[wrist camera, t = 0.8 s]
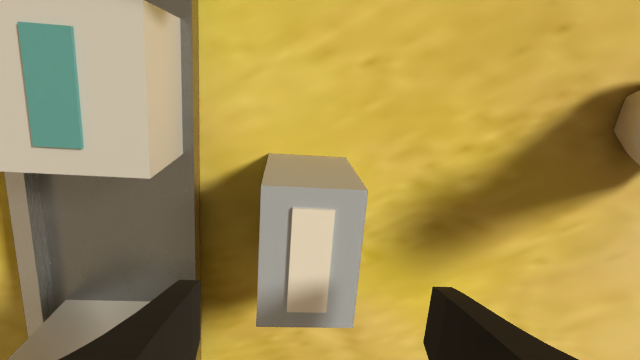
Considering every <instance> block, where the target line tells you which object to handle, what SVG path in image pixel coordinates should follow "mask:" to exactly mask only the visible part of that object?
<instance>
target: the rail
mask: <svg viewBox="0 0 640 360" xmlns="http://www.w3.org/2000/svg"><path fill="white" fill-rule="evenodd" d="M145 1H147V2H149V3H151V4H153V5H155V6H157V7H159V8H161V9H163V10H165V11H167V12H169V13H171V14H173V15H174V16H176V17H178V18H180V33H181V83H182V133H183V154H182V155H181V156H179V157H178V158H177V159H175V160H174V161H173V162H172V163H170V164H169V165H168V166H166V167H165V168H164V169H162V170H161V171H160V172H158V173H157V174H156V175H154V176H153V177H152V178H150V179H146V178H125V177H104V176H84V175H63V174H42V173H22V172H4V175H5V182H6V189H7V196H8V203H9V210H10V216H11V223H12V230H13V237H14V244H15V251H16V258H17V265H18V272H19V279H20V285H21V292H22V299H23V306H24V313H25V320H26V327H27V334H28V338H29V337H30V336H31V335H32V334H33V333H34V332H35V331H36V330H37V329H38V328H39V327H40V326H41V325H42V324H43V323H44V322H45V321H46V320H47V319H48V318H49V317H50V316H51V315H52V314H53V313H54V312H55V311H56V309H57V308H58V307H59V306H60V305H61V304H62V303H63V302H64V301H65V300H102V301H152V300H153V299H155V298H156V297H157V296H158V295H160V294H161V293H162V292H164V291H165V290H166V289H167V288H169V287H170V286H171V285H173V284H174V283H175V282H177V281H178V280H200V169H199V54H198V0H145ZM196 360H201V285H200V343H199V347H198V352H197V356H196Z"/></svg>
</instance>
